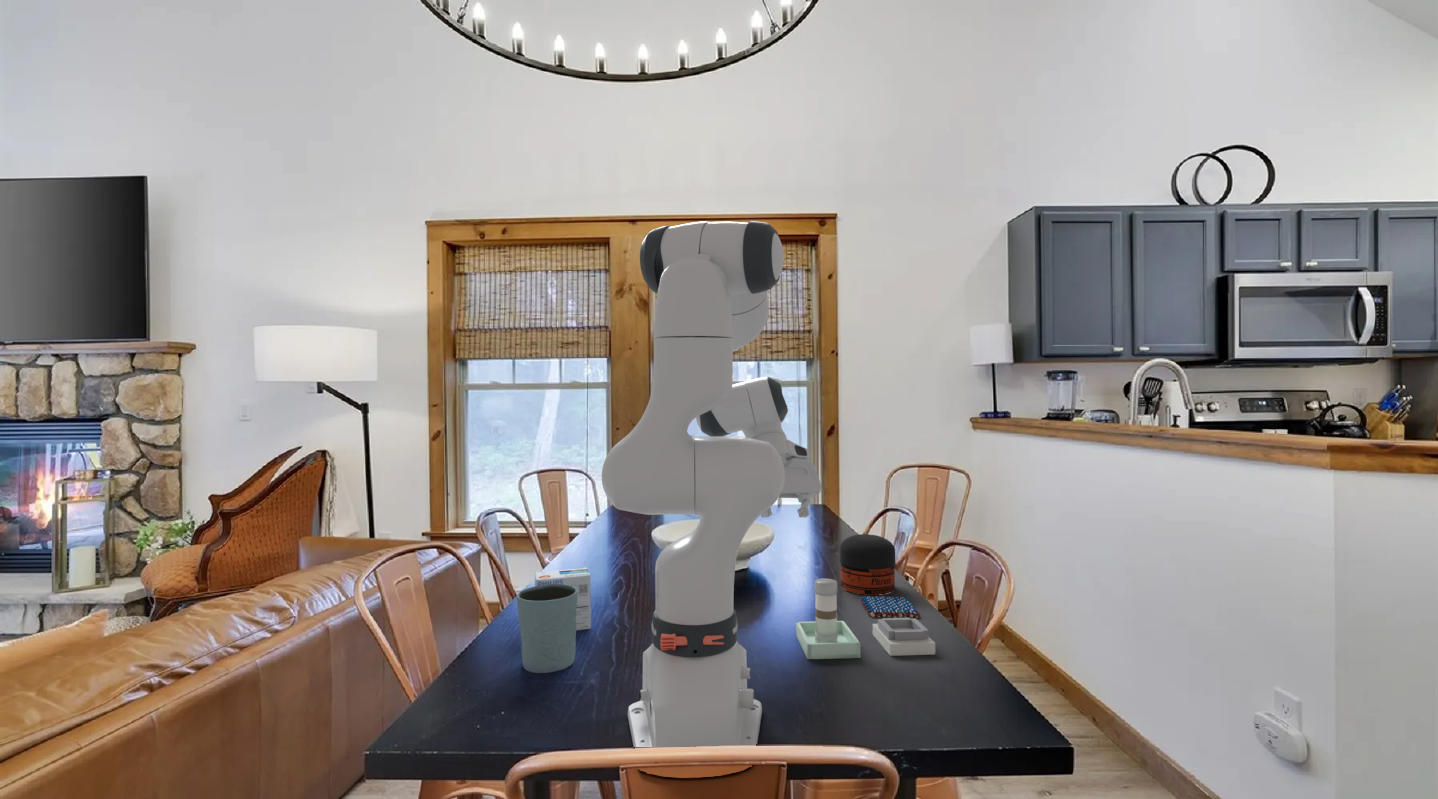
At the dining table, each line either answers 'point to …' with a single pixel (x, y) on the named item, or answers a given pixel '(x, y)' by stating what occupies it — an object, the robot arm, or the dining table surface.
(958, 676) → the dining table surface
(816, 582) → the cylinder
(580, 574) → the light bulb box
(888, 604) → the woven mat
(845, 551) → the oil filter
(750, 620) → the dining table surface
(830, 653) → the tray
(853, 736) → the dining table surface
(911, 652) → the block
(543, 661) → the green cup
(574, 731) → the dining table surface
